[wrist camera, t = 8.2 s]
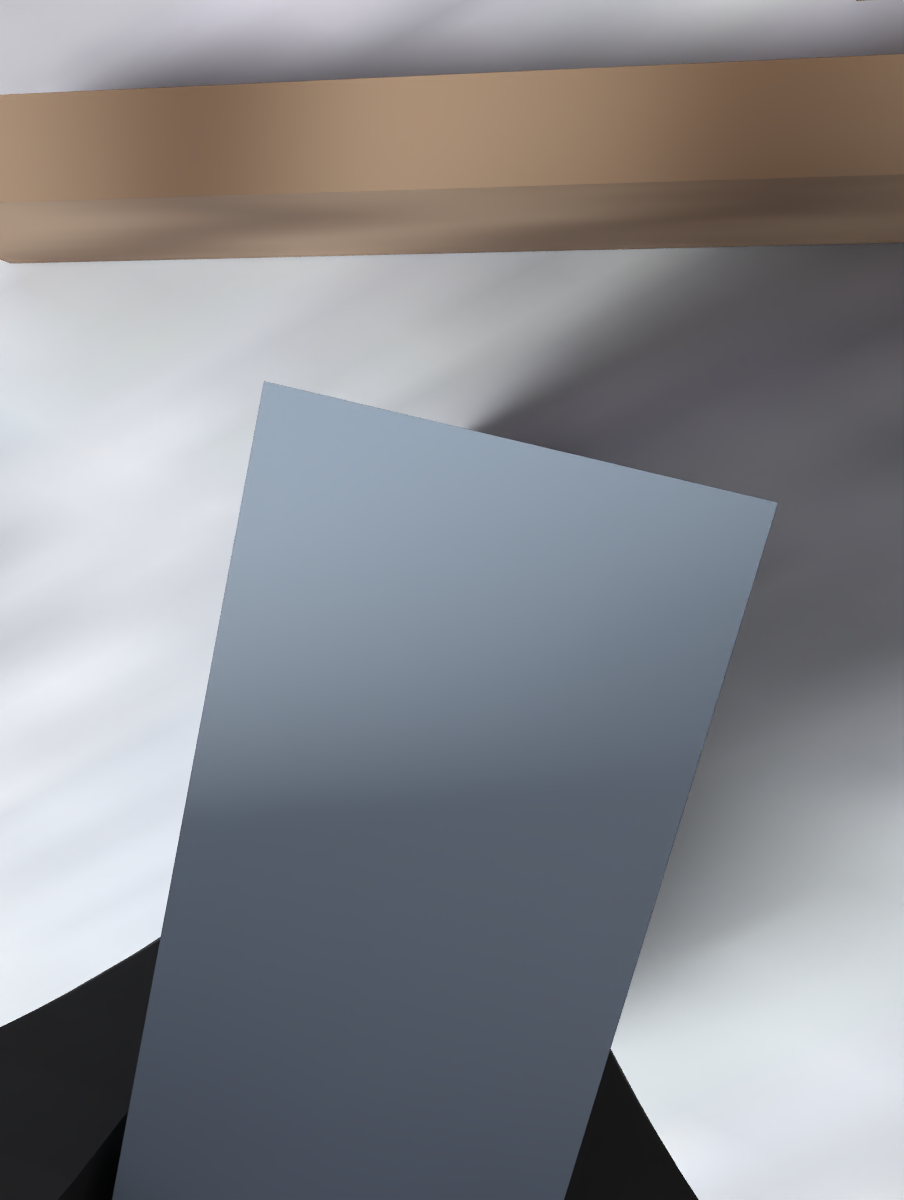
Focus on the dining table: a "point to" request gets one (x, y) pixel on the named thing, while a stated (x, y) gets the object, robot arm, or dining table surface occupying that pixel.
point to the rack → (460, 163)
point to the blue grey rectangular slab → (426, 808)
